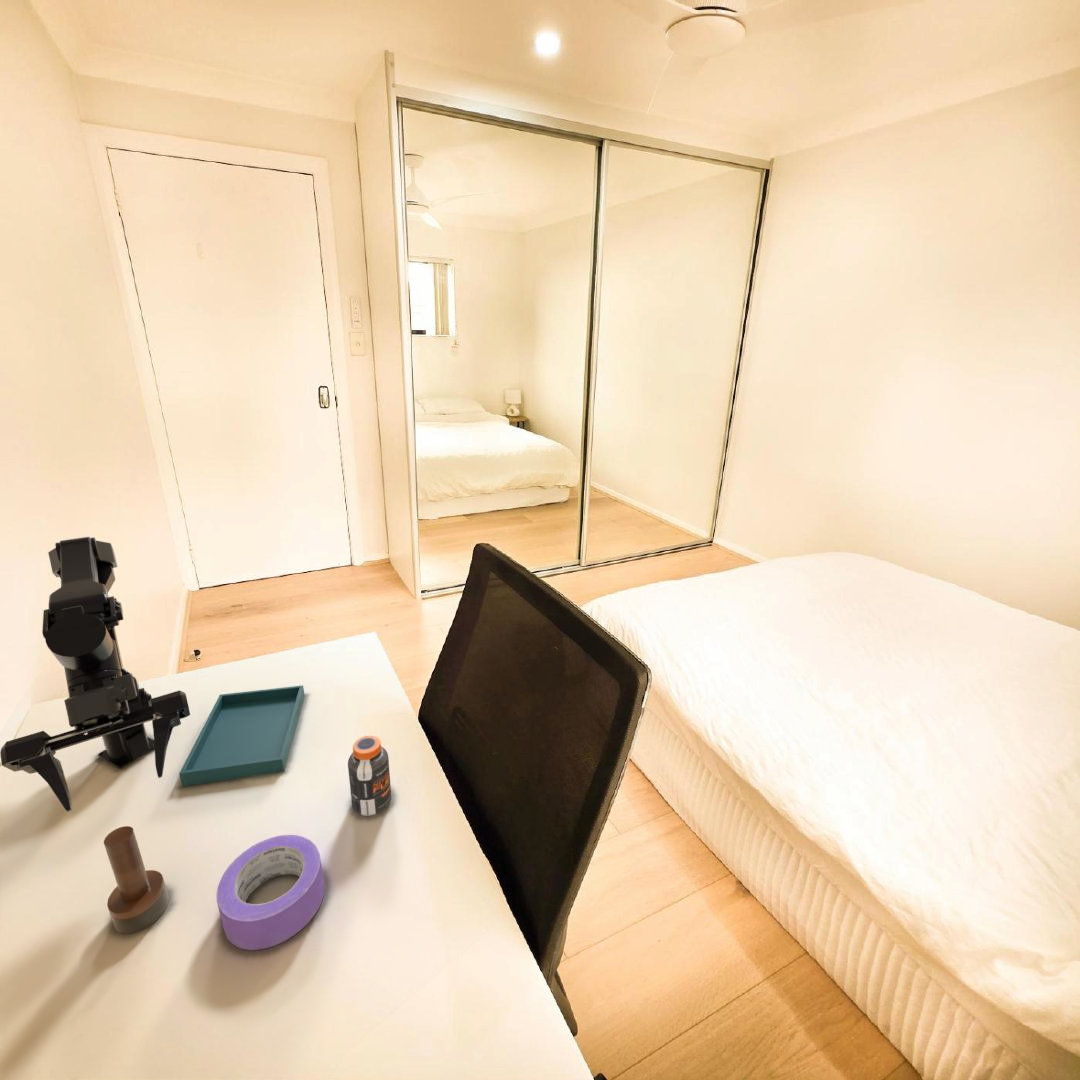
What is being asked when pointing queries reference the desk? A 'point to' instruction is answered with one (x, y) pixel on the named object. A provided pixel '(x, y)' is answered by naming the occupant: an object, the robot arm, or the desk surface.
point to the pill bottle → (369, 776)
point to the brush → (133, 884)
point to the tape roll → (280, 915)
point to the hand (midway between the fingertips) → (116, 793)
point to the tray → (245, 736)
